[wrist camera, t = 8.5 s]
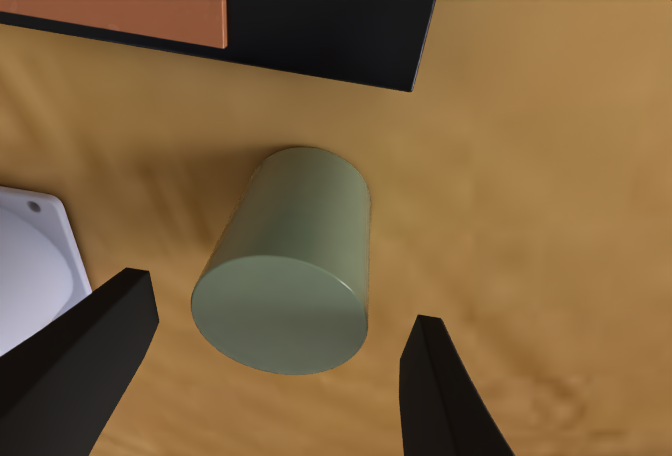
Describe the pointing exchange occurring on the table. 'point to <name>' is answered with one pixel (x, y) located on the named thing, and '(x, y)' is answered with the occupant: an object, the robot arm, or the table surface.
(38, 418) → the robot arm
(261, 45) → the warmer
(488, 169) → the table surface
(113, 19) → the tile
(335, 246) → the sage green cylinder
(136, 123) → the table surface
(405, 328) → the table surface
